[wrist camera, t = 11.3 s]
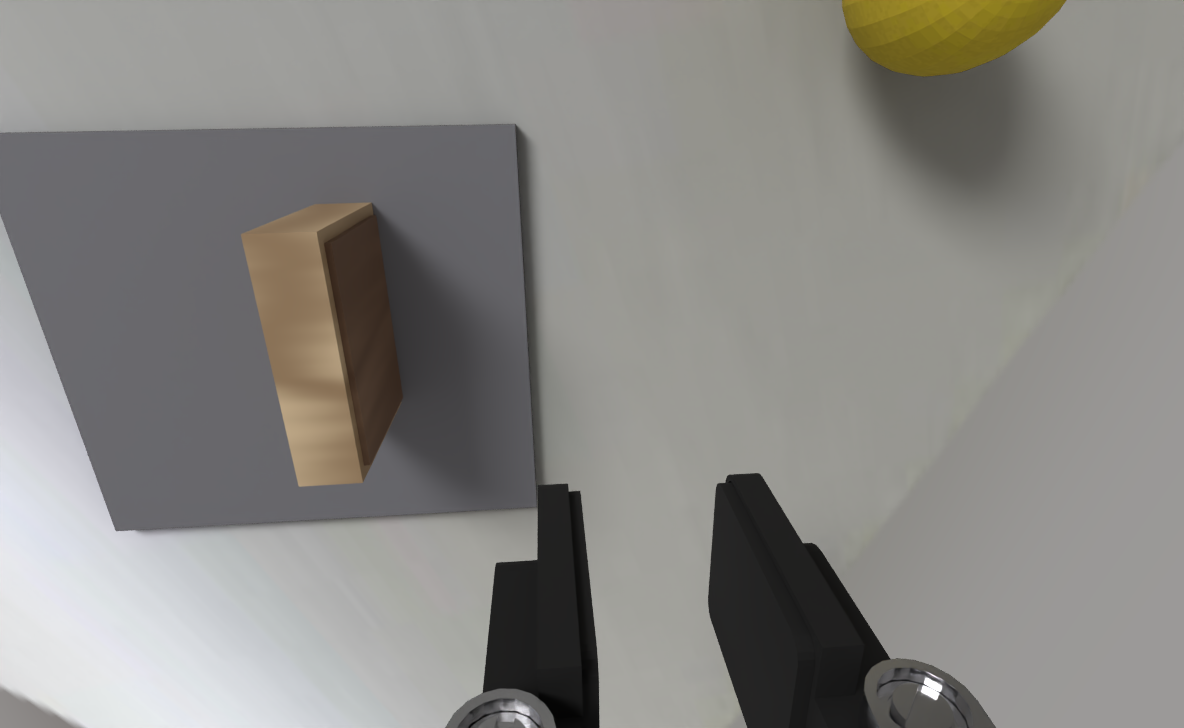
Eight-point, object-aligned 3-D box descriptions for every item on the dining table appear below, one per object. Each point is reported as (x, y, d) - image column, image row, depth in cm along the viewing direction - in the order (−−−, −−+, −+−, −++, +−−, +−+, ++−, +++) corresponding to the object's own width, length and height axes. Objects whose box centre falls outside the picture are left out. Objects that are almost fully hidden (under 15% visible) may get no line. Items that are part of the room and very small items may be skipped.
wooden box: (406, 402, 26) (377, 202, 23) (369, 482, 20) (324, 231, 17) (351, 404, 25) (314, 204, 22) (298, 486, 20) (240, 234, 17)
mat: (515, 124, 22) (514, 124, 22) (536, 499, 28) (536, 507, 28) (-15, 133, 21) (-30, 133, 21) (124, 522, 27) (115, 531, 27)
